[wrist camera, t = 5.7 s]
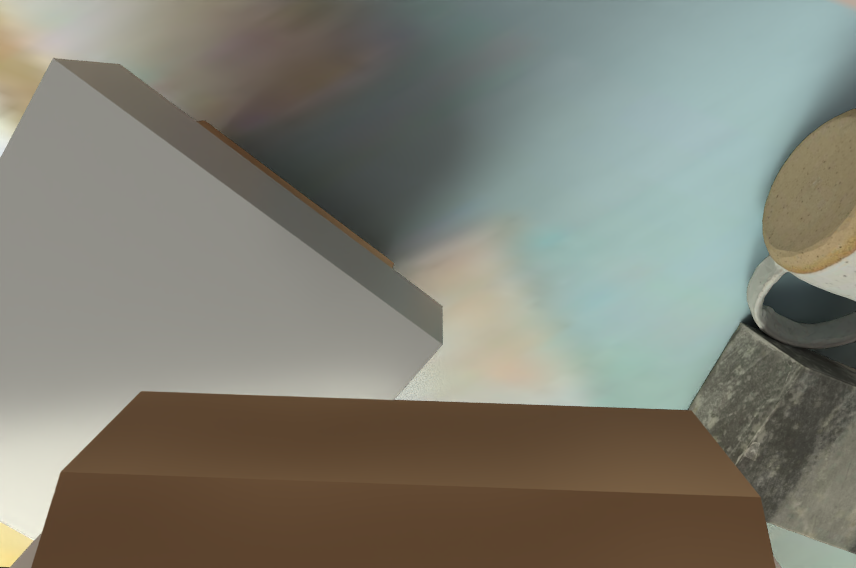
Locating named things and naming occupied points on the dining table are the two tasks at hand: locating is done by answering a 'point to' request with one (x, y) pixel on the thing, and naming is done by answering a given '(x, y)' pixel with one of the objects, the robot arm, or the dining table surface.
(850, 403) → the stone block
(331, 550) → the loose roller
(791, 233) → the ceramic mug
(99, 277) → the slab
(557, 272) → the dining table surface
